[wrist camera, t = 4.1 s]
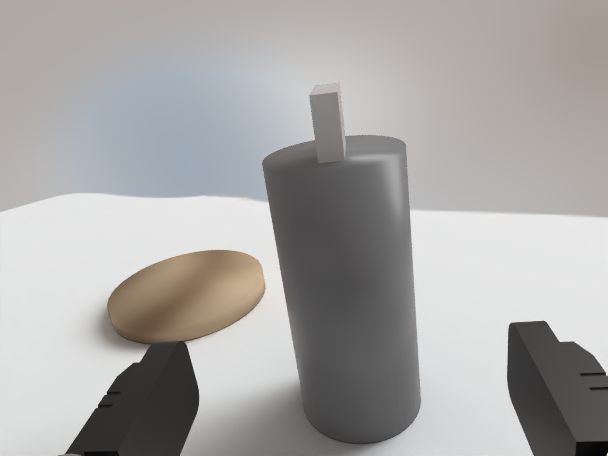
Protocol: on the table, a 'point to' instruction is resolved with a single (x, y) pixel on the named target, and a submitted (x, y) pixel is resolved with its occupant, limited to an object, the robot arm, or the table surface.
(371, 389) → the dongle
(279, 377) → the table surface
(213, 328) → the coaster
